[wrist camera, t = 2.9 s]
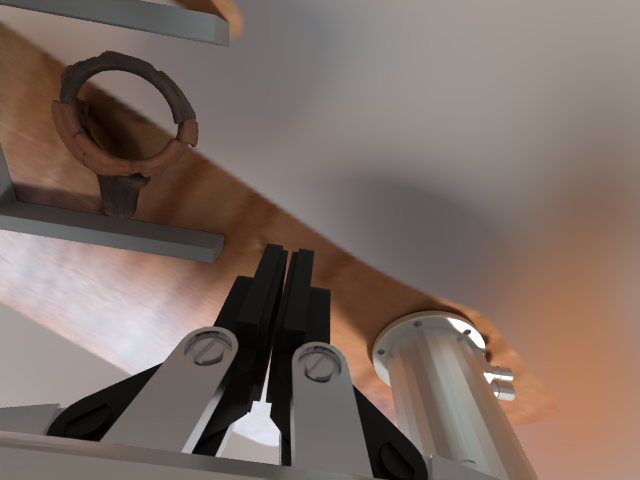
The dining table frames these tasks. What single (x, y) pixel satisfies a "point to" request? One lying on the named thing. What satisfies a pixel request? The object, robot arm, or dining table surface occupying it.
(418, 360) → the robot arm
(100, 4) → the bay
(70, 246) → the dining table surface
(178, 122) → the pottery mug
